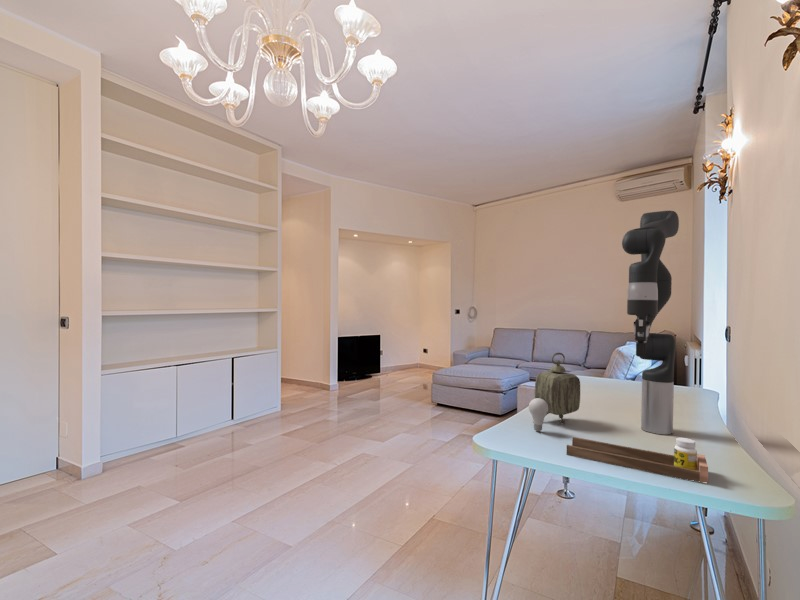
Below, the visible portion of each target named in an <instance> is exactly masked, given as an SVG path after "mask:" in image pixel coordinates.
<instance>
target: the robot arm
mask: <svg viewBox="0 0 800 600" xmlns="http://www.w3.org/2000/svg"><path fill="white" fill-rule="evenodd" d="M679 220H680V219H679V215H678V213H677V212H676V211H673V210H660V211H652V212H651V211H649V212H645V213H643V214H642V215H641V217H640V222H639V227H637V228H634V229H633V228H632V229H630V230H628V231H627V232H625V234H624V235H623V238H622V241H621V246H622V249H623V251H624V252H625V253H627V254H628V255H631V256H632V255H640V257H641V258H640V259H641V261H636V262H633V263H631V264H630V265H629V267H628V285H627V299H626V300H627V301H626V302H627V303H626V306H627V307H626V314H627V315H628V316H636V319H635V321H633V329H634V330H633V336H634V340H635V343H636V344H635V355H636V357H638V358H639V359H640V360H646V361H648V360H649V361H660V362H662V363H661V364H659V365H658V366H656V367H652V368H648V369H645V370H643V371H642V372H641V409H640V411H641V414H640V418H641V419H640V429H641V430H642V431H646V432H647V433H652V434H655V435H656V434H657V435H672V434H673V433H674V387H675V385H674V383H675V381H674V379H675V378H674V377H675V360H676V349H677V348H676V347H677V346H676V338H675V337H674V335H673V334H669V333H656V332H655V333H651V332H650V331H651V327H652V324H653V322H654V320H655V319H656V317H657V315H658V314H659V313H660V312H661V310H662V309H663V308H664V307H665V306H666V304H667V303H668V302H669V300H670V298H671V296H672V280H673V279H672V274H671V272H670V271H669V269H668V268H667V266H666V265H665V264H664V262H662V260H661V255H662V253H663V250H664V248H665V245H666V239H668V238H672V237H675V236H676V235H678V234H677V233H678V231H679V228H680V227H679V225H680V223H679V222H680V221H679ZM671 433H672V434H671Z"/></svg>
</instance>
